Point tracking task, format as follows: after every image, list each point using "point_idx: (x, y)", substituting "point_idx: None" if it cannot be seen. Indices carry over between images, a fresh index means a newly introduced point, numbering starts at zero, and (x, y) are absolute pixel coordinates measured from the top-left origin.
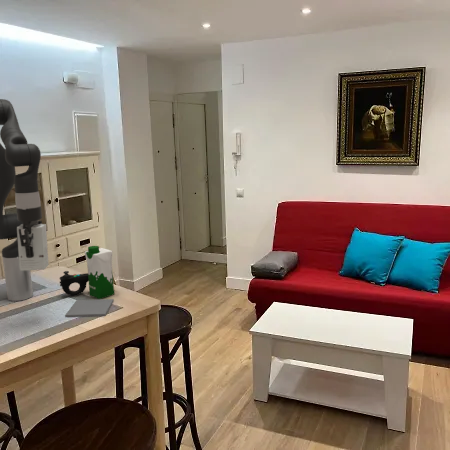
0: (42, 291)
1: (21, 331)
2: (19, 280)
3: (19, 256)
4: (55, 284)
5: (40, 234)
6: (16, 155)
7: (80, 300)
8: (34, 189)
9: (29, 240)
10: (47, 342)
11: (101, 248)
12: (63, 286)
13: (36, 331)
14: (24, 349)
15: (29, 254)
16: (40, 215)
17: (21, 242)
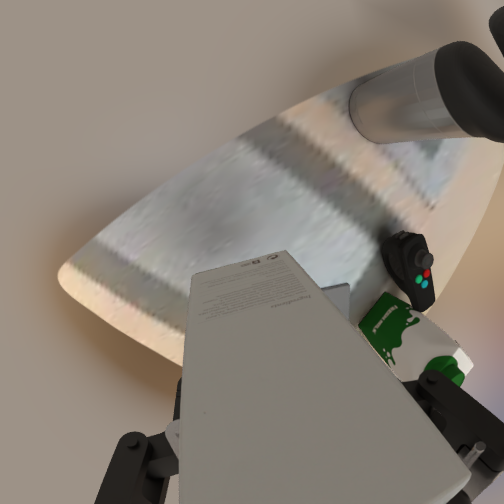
0: (411, 157)
1: (158, 236)
2: (388, 118)
3: (188, 320)
4: (446, 173)
5: None
6: None
7: (346, 296)
8: None
9: (164, 497)
10: (123, 322)
11: (468, 369)
12: (392, 246)
13: (164, 273)
14: (87, 292)
15: None
16: None
17: (113, 464)
